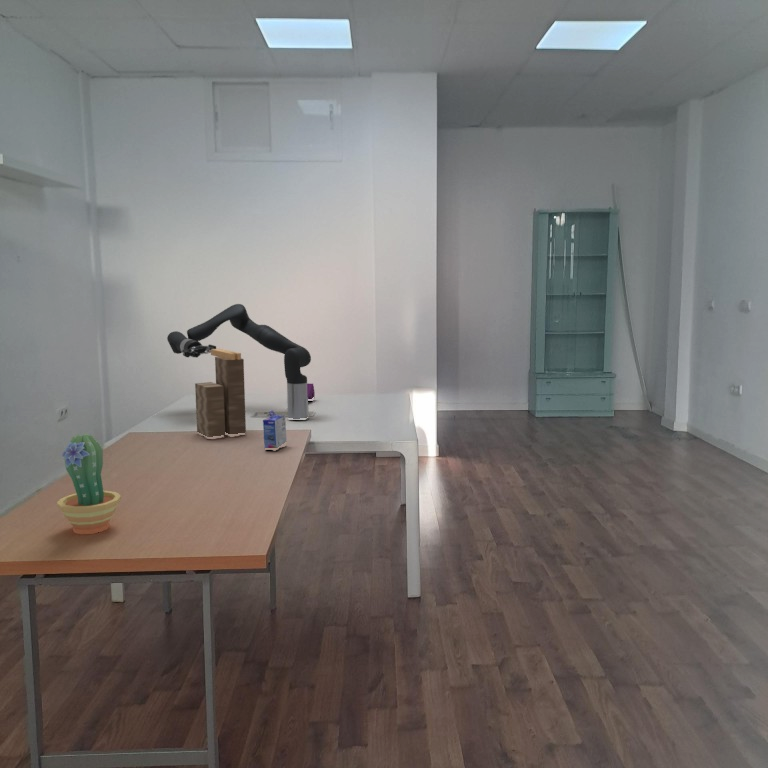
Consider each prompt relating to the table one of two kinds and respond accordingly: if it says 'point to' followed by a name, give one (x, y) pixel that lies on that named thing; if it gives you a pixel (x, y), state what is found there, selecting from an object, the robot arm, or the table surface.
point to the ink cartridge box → (274, 430)
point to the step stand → (222, 400)
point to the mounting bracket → (310, 391)
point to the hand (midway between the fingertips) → (206, 353)
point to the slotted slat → (226, 354)
